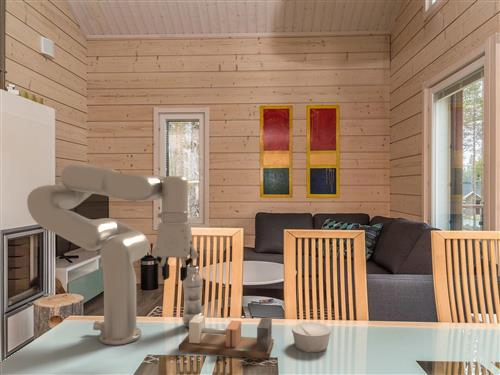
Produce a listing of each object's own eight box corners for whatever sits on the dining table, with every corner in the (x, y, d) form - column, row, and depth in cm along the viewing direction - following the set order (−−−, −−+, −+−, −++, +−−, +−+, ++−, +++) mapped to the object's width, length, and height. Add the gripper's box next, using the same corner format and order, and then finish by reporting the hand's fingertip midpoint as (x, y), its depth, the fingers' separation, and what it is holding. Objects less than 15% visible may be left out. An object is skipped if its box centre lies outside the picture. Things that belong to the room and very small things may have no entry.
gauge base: (178, 350, 118) (178, 323, 118) (189, 337, 128) (189, 311, 128) (268, 358, 114) (269, 330, 113) (273, 344, 123) (273, 317, 123)
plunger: (189, 342, 120) (189, 322, 120) (195, 334, 126) (195, 315, 125) (224, 345, 118) (224, 324, 118) (229, 337, 124) (229, 317, 124)
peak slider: (224, 348, 116) (224, 330, 116) (231, 336, 124) (231, 320, 124) (235, 349, 115) (235, 331, 115) (241, 337, 124) (241, 321, 123)
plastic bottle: (199, 330, 134) (199, 269, 133) (179, 329, 135) (179, 268, 134) (205, 323, 140) (205, 264, 139) (186, 322, 141) (186, 263, 141)
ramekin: (284, 346, 122) (284, 328, 122) (306, 335, 130) (306, 319, 130) (316, 358, 115) (316, 339, 114) (337, 346, 123) (337, 328, 123)
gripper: (142, 218, 120) (142, 281, 121) (198, 220, 117) (198, 284, 118) (153, 216, 128) (153, 274, 128) (206, 217, 125) (205, 277, 125)
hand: (174, 278), depth 123 cm, fingers open, 4 cm apart
